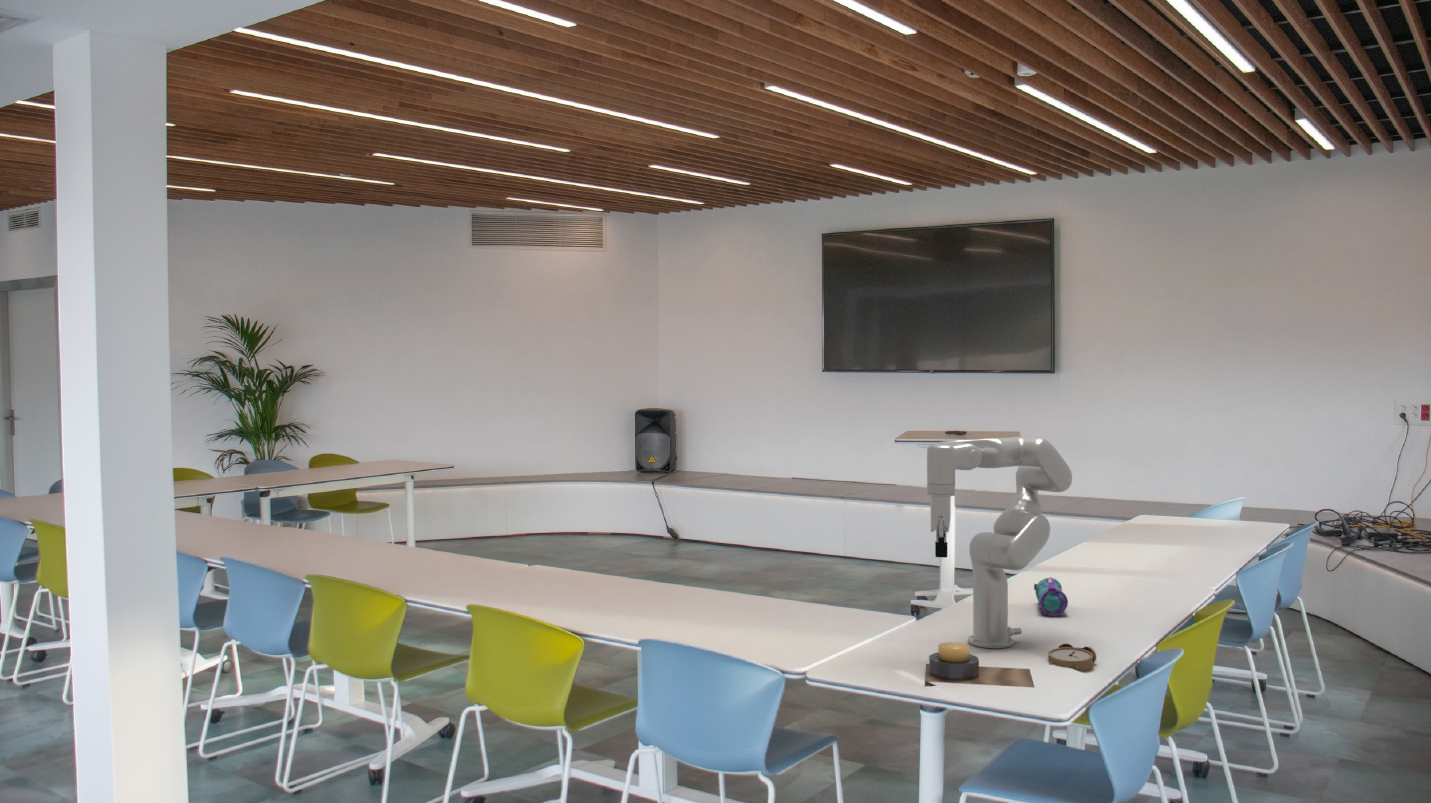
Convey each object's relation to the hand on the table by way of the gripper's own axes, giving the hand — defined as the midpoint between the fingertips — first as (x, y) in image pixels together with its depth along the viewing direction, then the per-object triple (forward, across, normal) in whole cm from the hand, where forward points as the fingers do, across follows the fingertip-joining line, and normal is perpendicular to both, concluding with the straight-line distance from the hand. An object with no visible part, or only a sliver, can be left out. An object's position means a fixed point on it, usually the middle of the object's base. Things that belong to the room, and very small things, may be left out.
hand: (941, 556), depth 285 cm
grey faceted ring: (+26, +22, +3) cm, 34 cm away
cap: (+26, +22, +3) cm, 34 cm away
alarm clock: (+28, +3, +34) cm, 44 cm away
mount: (+27, +22, +9) cm, 36 cm away
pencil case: (+28, -62, +34) cm, 76 cm away
